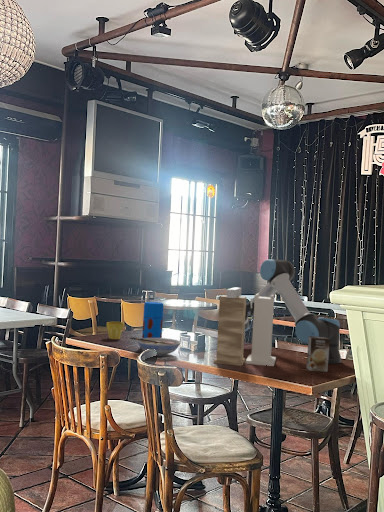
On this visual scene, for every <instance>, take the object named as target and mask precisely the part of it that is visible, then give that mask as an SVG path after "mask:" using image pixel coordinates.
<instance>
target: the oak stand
mask: <svg viewBox="0 0 384 512" xmlns="http://www.w3.org/2000/svg"><path fill="white" fill-rule="evenodd" d="M246 303H247V296H242V295H241V296H238V297H236V298H227V294H225V295H224V294H223V295H221V296H219V307H218V322H217V323H218V324H217V341H216V357H215V358H214V360H213V364H216V365H227V366H238V367H239V366H240V367H242V366H244V363H246V358H245V357H244V347H245V346H244V345H245V332H246V331H245V314H246Z"/></svg>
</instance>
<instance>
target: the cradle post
mask: <svg viewBox="0 0 384 512" xmlns="http://www.w3.org/2000/svg"><path fill="white" fill-rule="evenodd" d="M258 293H259V292H258ZM258 293H256V294H254V297H255V301H254V316H253V322H252V335H251V336H252V340H251V354H248V356H247V358H245V364H246V365H256V366H266V365H267V366H268V367H274V366H275V363H276V359H277V356H272V347H273V346H272V342H273V328H274V309H275V307H274V306H275V294H274V295H271V297H261V296H259V294H258ZM267 366H266V367H267Z"/></svg>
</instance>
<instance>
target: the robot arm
mask: <svg viewBox="0 0 384 512" xmlns="http://www.w3.org/2000/svg"><path fill="white" fill-rule="evenodd" d="M295 273H296V270H295V266H294V265H293V264H292V262H291V261H289V260H286V259H273V258H272V259H271V258H269V259H265V260H264V261H263V262H262V263H261V265H260V268H259V274H260V277H261V279H262V280H264V281H268V283H267V284H265V285H264V287H262V288H261V289H260V290H259V291H258V294H259V296H261V297H271V295H274V296H275V295H276V294H277V293H278V294H279V296H280V298H281V299H282V301H283V303H284V304H285V305H286V307H287V310H288V311H289V313H290V314H291V316H292V317H293V319H294V326H295V327H294V330H295V332H294V333H295V336H296V337H297V339H298V340H299V341H300V342H301V343H304V344H308V339H309V336H314V337H326V338H329V339H330V342H329V356H328V364H330V365H331V364H332V365H333V364H335V365H336V364H338V365H339V364H341V363H342V357H341V352H340V349H339V346H340V345H339V343H340V329H341V327H340V325H341V324H340V321H339V320H338V319H334V318H333V319H332V318H326V317H321V316H320V317H318V318H317V317H316V315H315V313H313V312H312V313H311V312H310V311H309V309H308V308H307V306H306V305H305V303H304V302H303V300H302V298H301V297H300V294H298V291H297V290H296V288H295V287H294V286H293V284H292V283H291V281H292V280H293V278H294V277H295V275H296V274H295ZM254 301H255V296H254V297H252V298H250V301H249V302H246V314H245V332H247V331H248V330H249V328H250V321H249V316H251V317H252V316H253V317H254Z"/></svg>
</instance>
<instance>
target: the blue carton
mask: <svg viewBox="0 0 384 512" xmlns="http://www.w3.org/2000/svg"><path fill="white" fill-rule="evenodd" d="M142 317H143V318H142V335H141V338H163V337H162V336H163V335H162V334H163V321H164V303H163V302H155V301H146V302H144V305H143V316H142Z"/></svg>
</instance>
